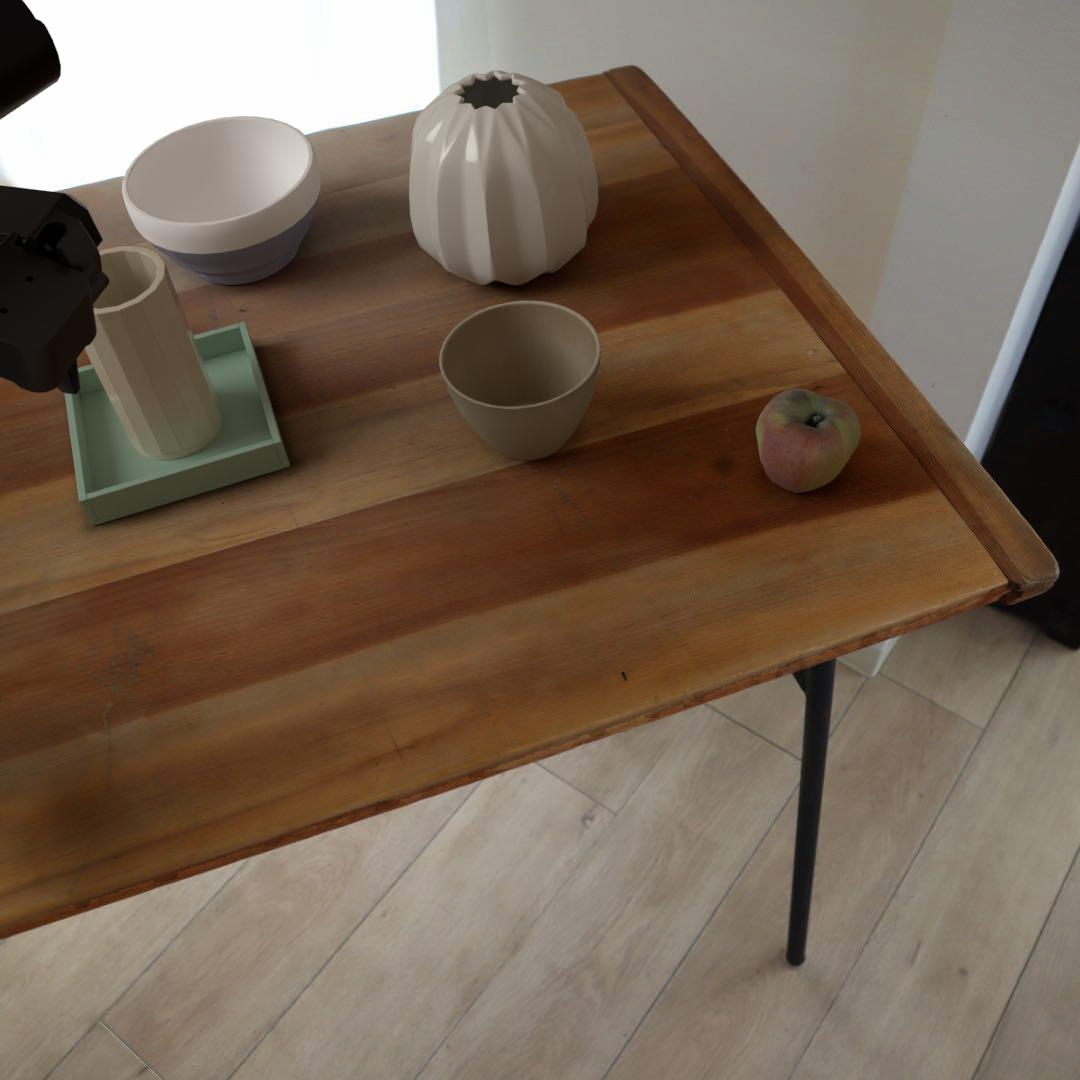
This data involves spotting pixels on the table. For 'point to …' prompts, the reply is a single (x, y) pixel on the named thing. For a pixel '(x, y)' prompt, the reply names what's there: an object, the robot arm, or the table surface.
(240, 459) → the serving tray
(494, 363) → the flower pot
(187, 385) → the rice cup
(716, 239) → the table surface
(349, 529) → the table surface
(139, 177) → the bowl
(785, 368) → the table surface
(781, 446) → the apple
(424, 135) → the vase
